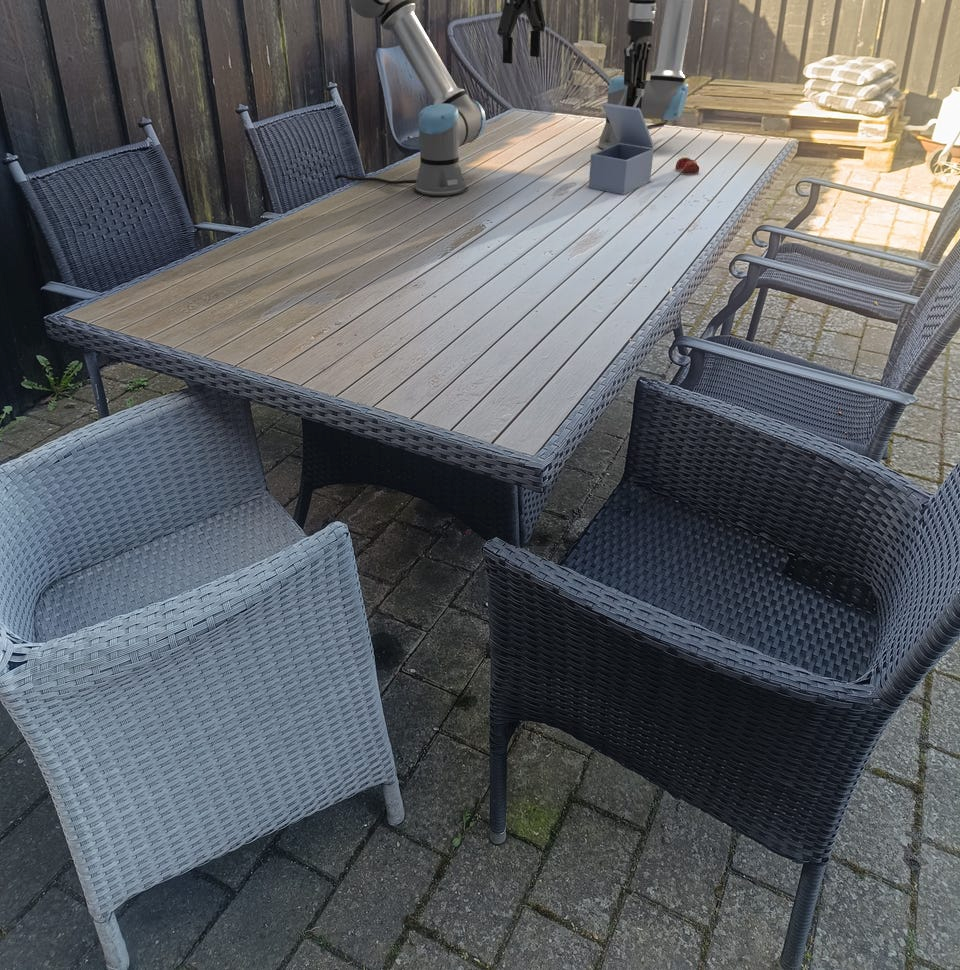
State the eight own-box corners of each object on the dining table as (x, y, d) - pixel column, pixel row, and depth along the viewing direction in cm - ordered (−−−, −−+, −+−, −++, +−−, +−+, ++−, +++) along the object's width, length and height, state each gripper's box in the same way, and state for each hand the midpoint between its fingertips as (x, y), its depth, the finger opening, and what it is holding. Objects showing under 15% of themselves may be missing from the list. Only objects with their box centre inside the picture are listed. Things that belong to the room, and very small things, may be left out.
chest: (623, 194, 254) (626, 161, 249) (588, 187, 260) (591, 154, 255) (650, 181, 266) (653, 149, 260) (616, 174, 272) (618, 143, 266)
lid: (638, 110, 244) (651, 84, 244) (602, 105, 250) (614, 79, 250) (653, 148, 260) (665, 123, 260) (618, 142, 266) (630, 118, 266)
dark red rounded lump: (690, 153, 276) (701, 160, 269) (689, 167, 278) (700, 174, 272) (674, 155, 275) (685, 162, 268) (673, 169, 277) (684, 175, 271)
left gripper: (508, -24, 217) (506, 67, 230) (560, -30, 234) (556, 55, 246) (484, -25, 221) (484, 64, 233) (537, -32, 237) (534, 52, 250)
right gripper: (640, 23, 232) (631, 114, 246) (665, 18, 242) (655, 106, 256) (616, 21, 236) (608, 111, 250) (642, 16, 246) (633, 102, 259)
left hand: (521, 59), depth 240 cm, fingers open, 13 cm apart
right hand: (632, 108), depth 253 cm, fingers closed on lid, 2 cm apart
